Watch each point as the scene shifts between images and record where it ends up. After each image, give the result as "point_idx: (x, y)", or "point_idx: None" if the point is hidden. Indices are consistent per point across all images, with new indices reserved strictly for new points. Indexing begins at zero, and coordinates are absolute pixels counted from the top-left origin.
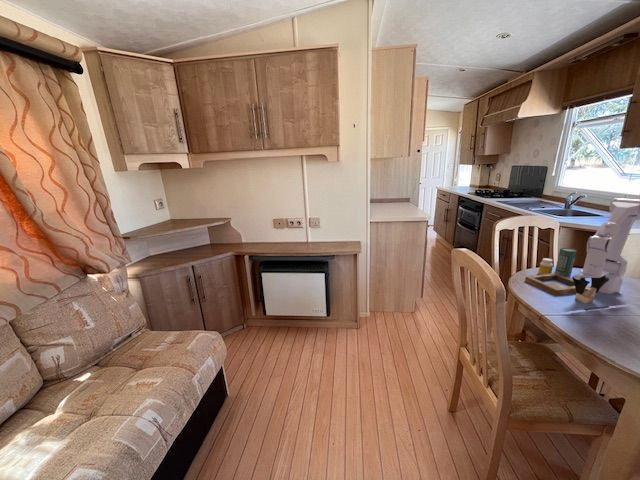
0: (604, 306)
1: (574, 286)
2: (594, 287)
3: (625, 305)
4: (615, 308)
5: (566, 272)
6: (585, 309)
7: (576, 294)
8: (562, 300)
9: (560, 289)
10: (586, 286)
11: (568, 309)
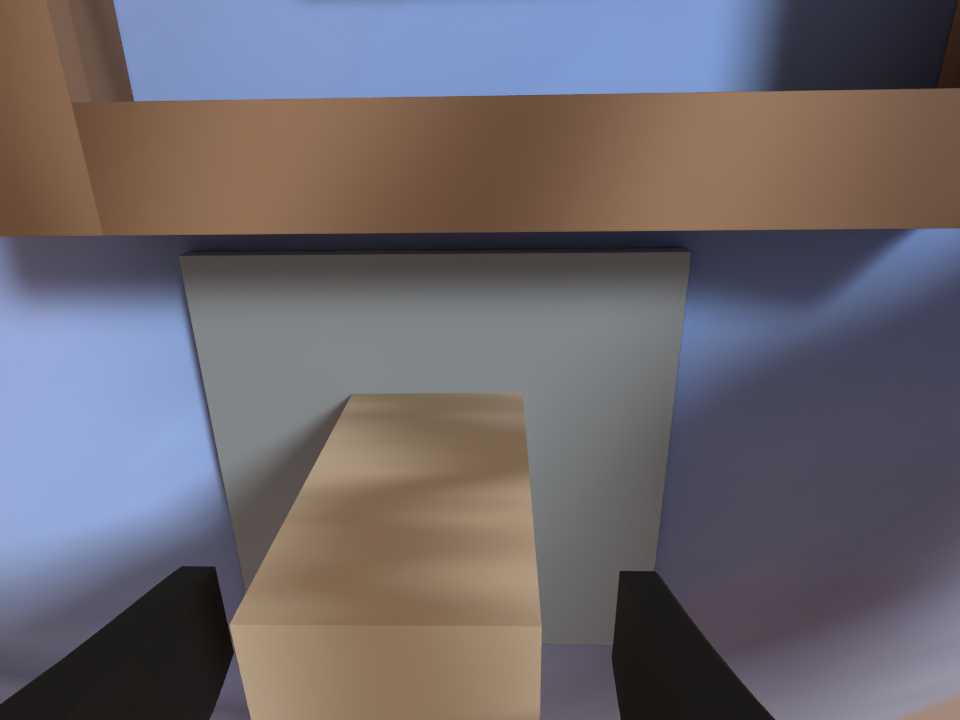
0: (586, 628)
1: (684, 127)
2: (646, 717)
3: (945, 633)
4: None
5: None
6: None
7: (322, 459)
8: (152, 339)
9: (115, 214)
10: (418, 705)
11: (29, 565)
